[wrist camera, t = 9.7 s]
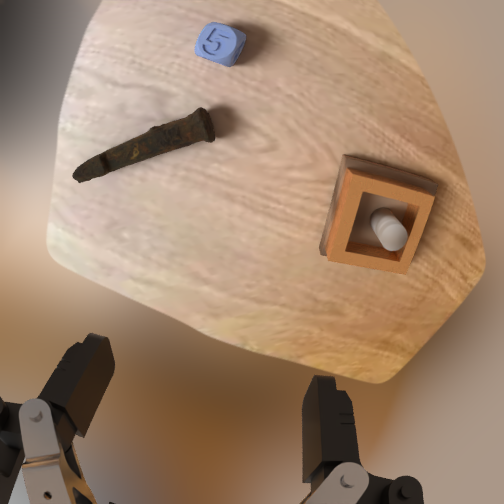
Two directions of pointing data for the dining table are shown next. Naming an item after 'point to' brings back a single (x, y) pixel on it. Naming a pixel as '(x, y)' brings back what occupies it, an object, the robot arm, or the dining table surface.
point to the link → (346, 213)
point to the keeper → (375, 207)
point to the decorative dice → (220, 43)
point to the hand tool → (149, 145)
